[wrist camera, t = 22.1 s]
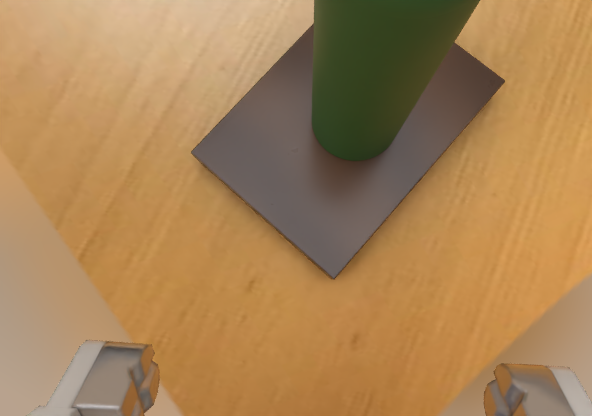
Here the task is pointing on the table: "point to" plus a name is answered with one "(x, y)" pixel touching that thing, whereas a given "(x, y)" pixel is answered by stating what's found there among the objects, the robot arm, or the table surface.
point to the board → (325, 166)
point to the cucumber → (376, 67)
